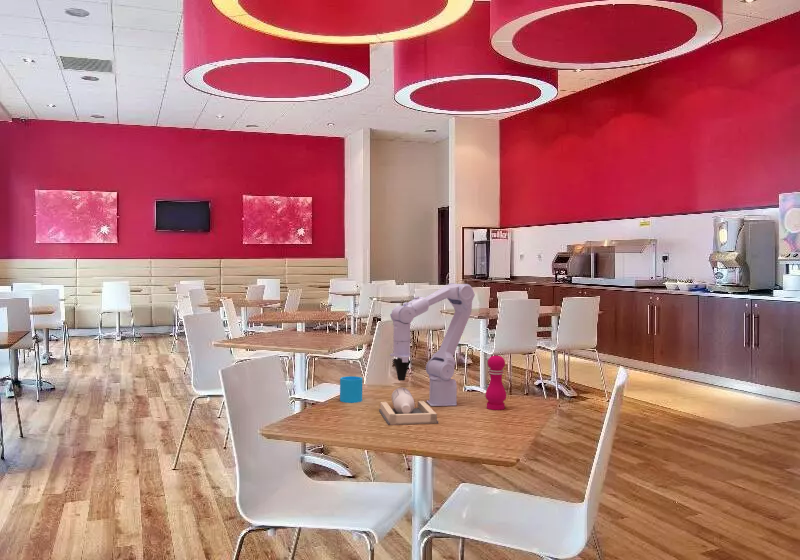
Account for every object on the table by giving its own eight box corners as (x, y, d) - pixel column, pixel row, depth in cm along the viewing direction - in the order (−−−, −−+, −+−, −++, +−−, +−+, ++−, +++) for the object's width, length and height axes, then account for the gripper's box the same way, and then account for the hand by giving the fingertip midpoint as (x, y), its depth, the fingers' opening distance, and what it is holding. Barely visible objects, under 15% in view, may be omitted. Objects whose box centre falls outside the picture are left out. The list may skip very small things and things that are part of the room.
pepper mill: (505, 406, 241) (506, 349, 241) (506, 410, 234) (507, 352, 234) (484, 405, 242) (485, 349, 242) (485, 410, 235) (486, 352, 234)
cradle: (425, 409, 235) (425, 400, 235) (438, 423, 215) (438, 413, 215) (378, 410, 232) (379, 402, 232) (388, 425, 212) (388, 415, 212)
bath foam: (393, 408, 235) (397, 422, 216) (389, 388, 235) (393, 401, 215) (412, 404, 236) (418, 418, 216) (409, 385, 236) (415, 397, 216)
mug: (359, 403, 244) (360, 380, 244) (337, 402, 245) (337, 379, 245) (366, 396, 256) (366, 375, 256) (344, 395, 257) (345, 374, 257)
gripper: (387, 338, 241) (386, 376, 242) (393, 343, 227) (393, 384, 227) (406, 338, 242) (406, 376, 243) (414, 343, 228) (414, 383, 228)
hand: (401, 380), depth 235 cm, fingers closed
